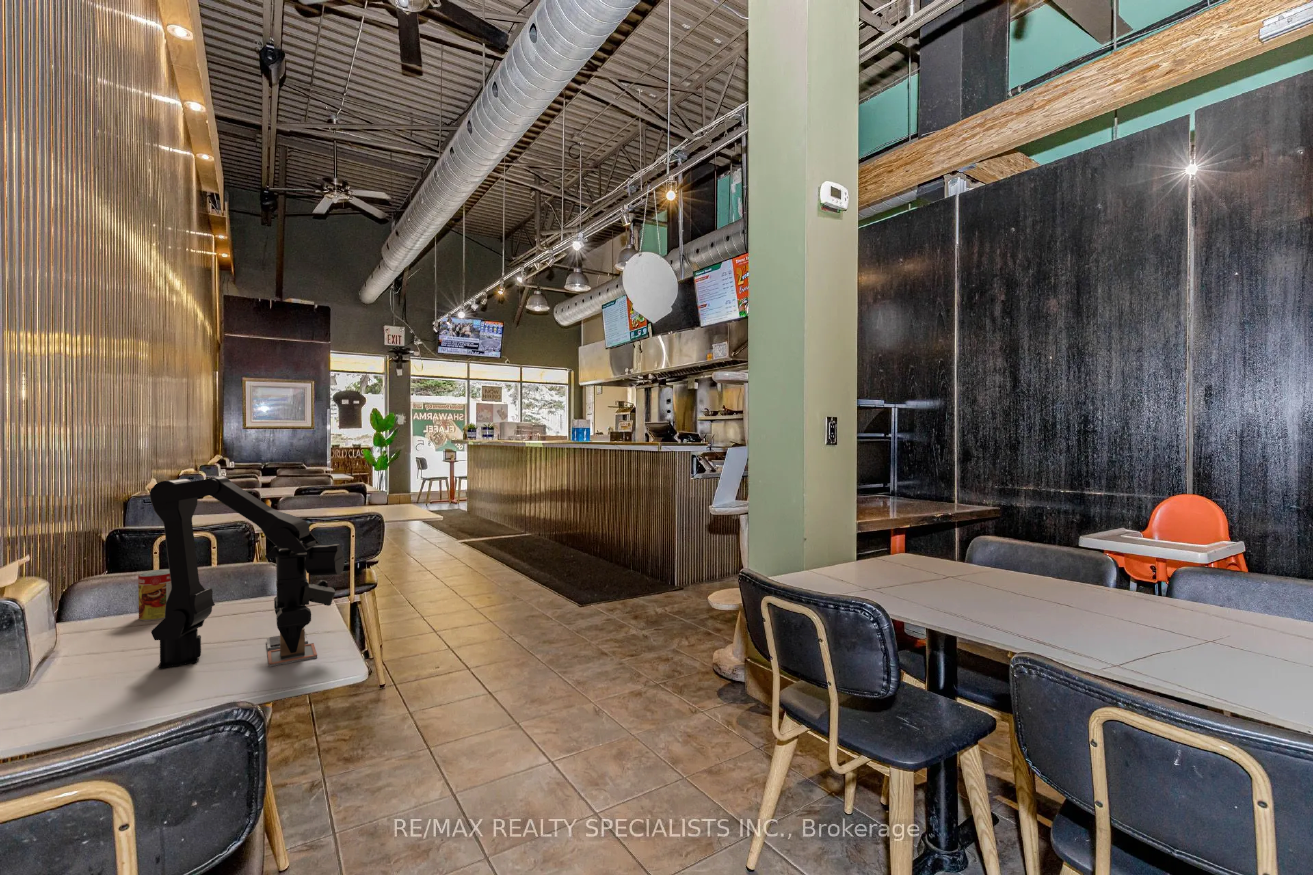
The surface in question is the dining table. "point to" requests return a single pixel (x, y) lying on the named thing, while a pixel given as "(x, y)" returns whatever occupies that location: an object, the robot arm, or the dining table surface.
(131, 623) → the dining table surface
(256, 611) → the dining table surface
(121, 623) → the dining table surface
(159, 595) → the canned food
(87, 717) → the dining table surface
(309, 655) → the tile
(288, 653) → the stamp
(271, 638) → the pad
